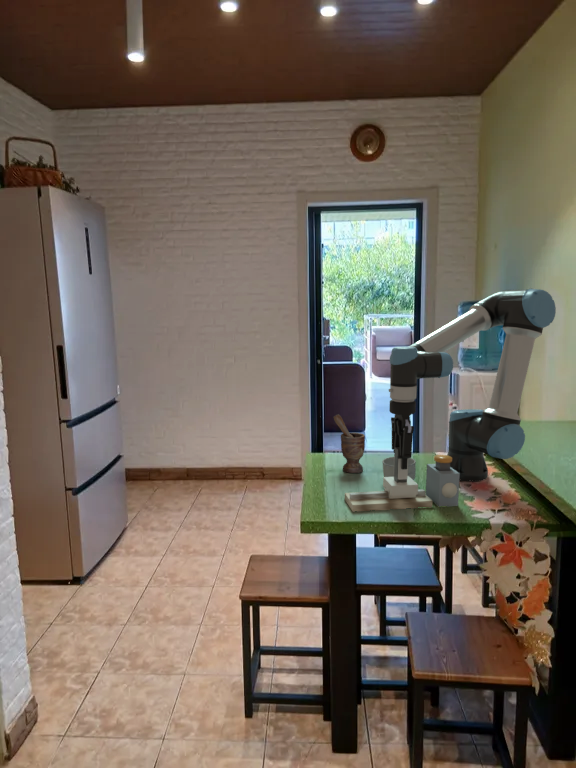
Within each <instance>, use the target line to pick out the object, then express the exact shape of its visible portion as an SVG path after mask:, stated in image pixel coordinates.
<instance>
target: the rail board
mask: <svg viewBox="0 0 576 768" xmlns="http://www.w3.org/2000/svg"><path fill="white" fill-rule="evenodd" d="M344 501H345V502H346V503H347V506H348V507H349V508H350V510H351V511H352V512H353V513H354V512H355V511H357V512H369V511H370V510H371V511H372V510H375V511H391V510H390V509H393V510H407V509H406V508H411V509H419V508H418V507H429V508H433V503H434V502H433V501H432V500H431V499H430V498H429V497H428V496H427V495H426V489H423V488H422V489H420V488H418V494H417V495H416V497H412V498H393V499H390V498H389V493H388V491H384V490H375V491H357V492H355V491H354V492H344ZM371 511H370V512H371Z"/></svg>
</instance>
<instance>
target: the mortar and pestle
mask: <svg viewBox="0 0 576 768" xmlns="http://www.w3.org/2000/svg"><path fill="white" fill-rule="evenodd" d="M332 418H333V420H334V422H335V424H336V426H338V428H339V429H340V431H341V432H342V433H341V434H340V449H341V453H342V456H343V458H345V460H346V463H345V464H343V466H342V471H343V472H344V473H349V474H358V473H359V474H361V473H362V472H363V471H364V469H363V468H364V467H363V465H362V464H361V463H360V460H361V459H362V457H363V456H364V453H365V447H366V444H365V443H366V442H365V441H366V436H365V434H364V433H361V432H349V430H348V428H347V426H346V423H345V422H344V420H343V418H342V416H341V415H340V414H339V413H338V414H335V415H334V416H333V417H332ZM360 472H361V473H360Z"/></svg>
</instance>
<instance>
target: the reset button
mask: <svg viewBox="0 0 576 768" xmlns="http://www.w3.org/2000/svg"><path fill="white" fill-rule="evenodd" d="M433 460H434V461H435V464H436V469H437V470H438V471H450V463H451V462H452V457H450V456H447V455H446V454H436V455H434V457H433Z"/></svg>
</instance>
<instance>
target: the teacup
mask: <svg viewBox="0 0 576 768" xmlns="http://www.w3.org/2000/svg"><path fill="white" fill-rule="evenodd" d="M381 462H382V472H383V477H394V456H390V457H386V458H384V459H382V461H381ZM416 463H417V461H416V459H414V458H412V457H411V458H408V476H409V477H410V478H411V479H412V480H414V481H415V479H416V467H417V466H416Z"/></svg>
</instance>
